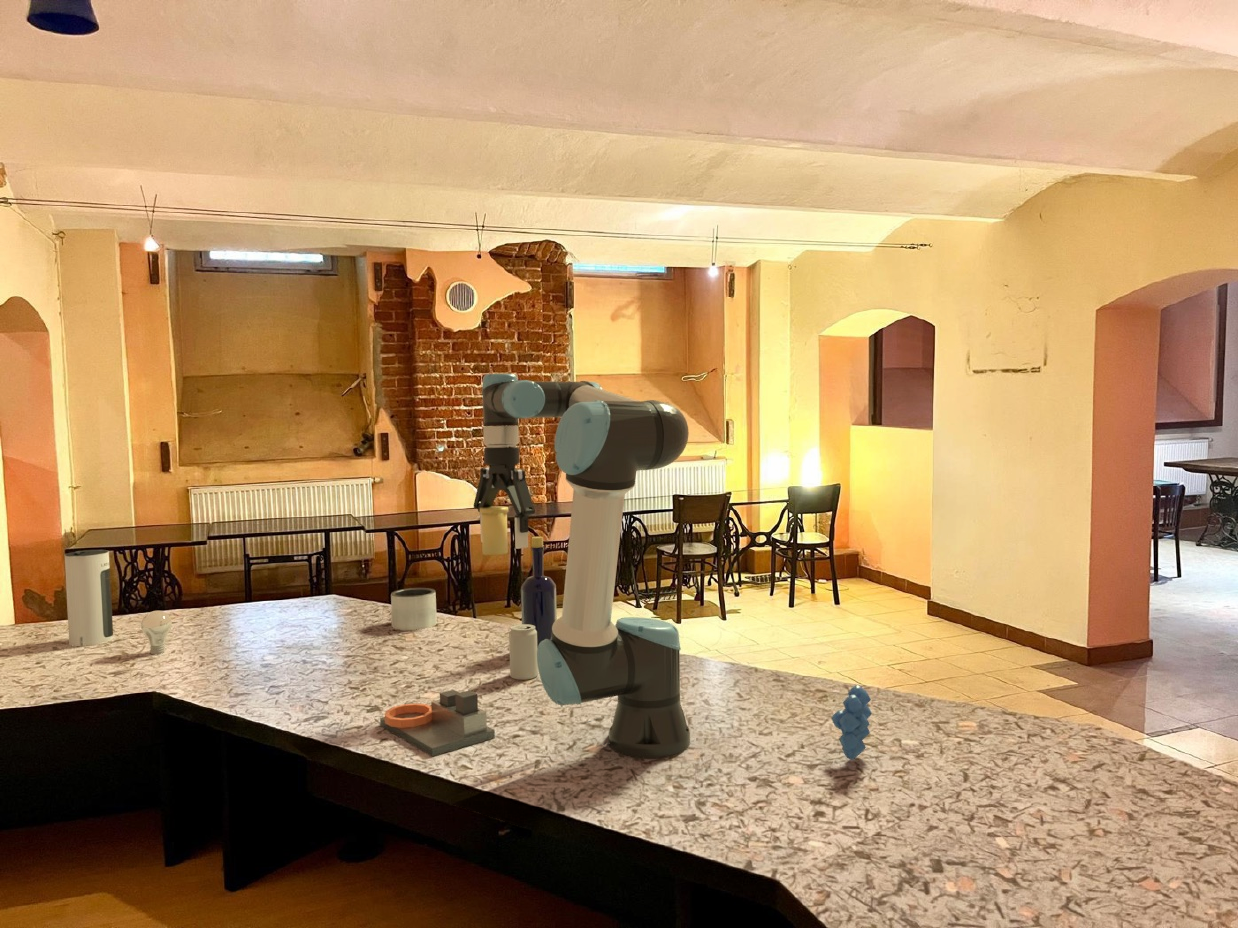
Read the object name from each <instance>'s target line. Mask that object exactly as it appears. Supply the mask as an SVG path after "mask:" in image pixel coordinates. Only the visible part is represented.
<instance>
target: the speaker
mask: <svg viewBox="0 0 1238 928" xmlns="http://www.w3.org/2000/svg"><path fill="white" fill-rule="evenodd" d="M64 567H65V568H64V570H65V587H66V588H65V589H66V605H67V608H66V609H67V610H66V611H67V624H68V625H67V626H68V628H67V629H68V644H69V646H71V645H73V646H72V647H74V646H84V647H86V646H85V645H92V646H94V645H93V644H98V643H102V642H106V643H109V642H111V641H112V640H113V639H114V625H113V607H112V588H111V568H110V551H109V550H106V549H89V550H77V551H72V552H68V553H65V554H64ZM108 641H109V642H108ZM102 644H103V643H102ZM98 645H99V644H98Z"/></svg>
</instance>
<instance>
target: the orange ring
mask: <svg viewBox="0 0 1238 928" xmlns="http://www.w3.org/2000/svg"><path fill="white" fill-rule="evenodd" d="M412 712H418V713H425V714H424V715H422V716H418V717H414V718H394V716H396V715H399V714H403V713H412ZM384 717H385V723H386V724H387V725H389V726H391V727H399V728H405V727H416V726H419V725H423V724H426V723H428V722H430V721H431V720H432V710H431V706H429V704H424V703H406V704H405V703H404V704H401V705H397V706H393V707H391V708H389V709H387V710H385V713H384Z"/></svg>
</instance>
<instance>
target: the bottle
mask: <svg viewBox="0 0 1238 928" xmlns="http://www.w3.org/2000/svg"><path fill="white" fill-rule="evenodd" d="M544 551H545V546H544V537H543V536H533V537H531V547H530V552H531V553H532V554H531V555H532V556H531V557H532V576H529V577H527V578H526V579H525V580H524V582H523V583H522V585H521V587H520V596H521V597H520V601H521V602H520V605H521V607H520V609H521V624H529V625H534V626H535V630H536V631H537V648H538V645H539V644H540V642H541V641H543V640H545V639H551V634H552V626H553V623H554V622H555V621H556V620H557V619H558V618H557V617H558V615H557V613H558V612H557V610H558V609H557V585H556V583H555V582H554V580H553V579H552V578H551V577H550V576H545V575H544Z"/></svg>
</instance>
